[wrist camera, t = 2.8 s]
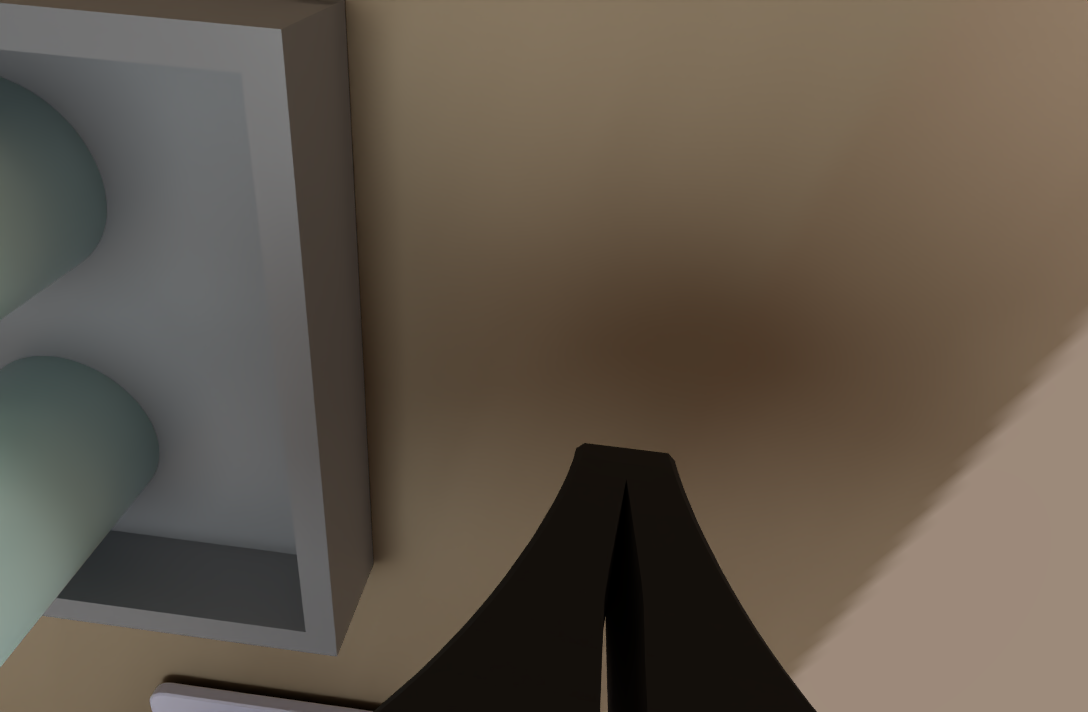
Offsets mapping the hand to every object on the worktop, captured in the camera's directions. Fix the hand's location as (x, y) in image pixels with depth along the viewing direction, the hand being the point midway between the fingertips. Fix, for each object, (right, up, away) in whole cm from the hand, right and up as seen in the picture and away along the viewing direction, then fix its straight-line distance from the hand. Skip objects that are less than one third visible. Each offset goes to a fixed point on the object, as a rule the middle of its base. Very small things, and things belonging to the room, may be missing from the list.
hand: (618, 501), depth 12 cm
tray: (-11, +3, +4) cm, 12 cm away
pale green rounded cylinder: (-11, +1, +5) cm, 12 cm away
